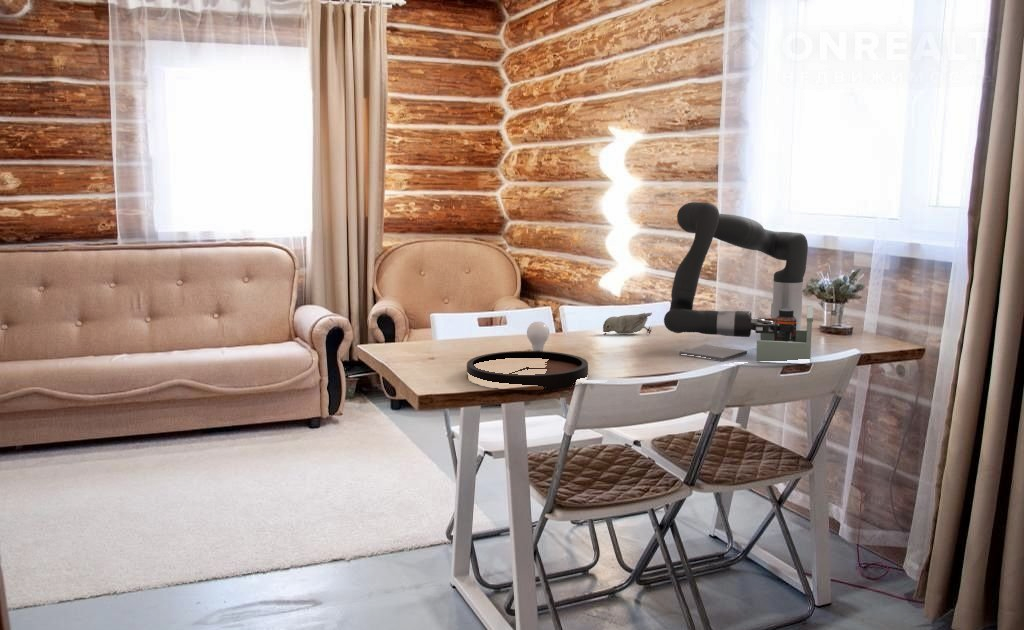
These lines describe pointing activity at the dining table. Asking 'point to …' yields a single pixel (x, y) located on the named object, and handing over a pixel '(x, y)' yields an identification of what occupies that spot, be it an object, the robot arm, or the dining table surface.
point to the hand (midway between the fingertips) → (794, 326)
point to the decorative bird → (626, 323)
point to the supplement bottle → (786, 318)
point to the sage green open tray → (786, 345)
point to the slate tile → (714, 352)
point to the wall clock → (557, 376)
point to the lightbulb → (538, 335)
